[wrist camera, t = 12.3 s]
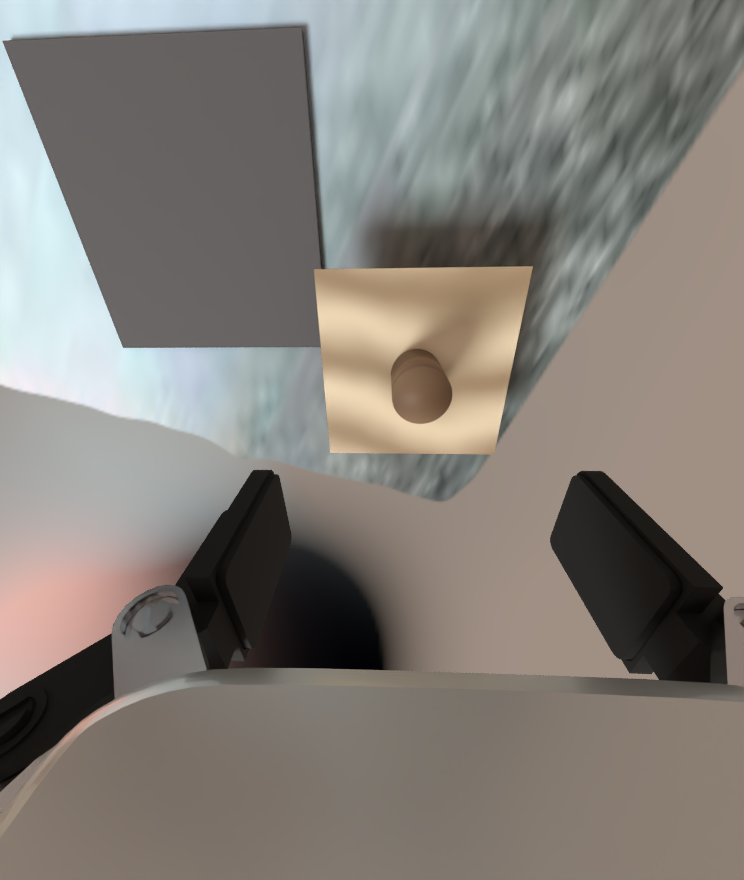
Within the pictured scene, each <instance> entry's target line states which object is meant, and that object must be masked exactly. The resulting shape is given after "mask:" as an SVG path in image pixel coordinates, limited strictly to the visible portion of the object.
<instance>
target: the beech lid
mask: <svg viewBox="0 0 744 880" xmlns="http://www.w3.org/2000/svg"><path fill="white" fill-rule="evenodd" d="M532 269H533V266H511V267H439V268H367V269H314V276H315V288H316V299H317V310H318V321H319V332H320V343H321V354H322V365H323V376H324V387H325V398H326V409H327V420H328V431H329V442H330V453H416V454H494V451H495V446H496V442H497V437H498V432H499V427H500V422H501V418H502V413H503V408H504V403H505V398H506V394H507V389H508V384H509V379H510V374H511V370H512V365H513V360H514V355H515V350H516V346H517V341H518V336H519V331H520V326H521V322H522V317H523V312H524V307H525V302H526V298H527V293H528V288H529V283H530V278H531V274H532Z"/></svg>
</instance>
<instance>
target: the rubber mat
mask: <svg viewBox="0 0 744 880" xmlns="http://www.w3.org/2000/svg"><path fill="white" fill-rule="evenodd" d="M3 44H4V46H5V49H6V51H7V54H8V56H9V59H10V61H11V64H12V66H13V69H14V72H15V74H16V77H17V79H18V82H19V84H20V87H21V89H22V92H23V94H24V97H25V99H26V102H27V105H28V107H29V110H30V112H31V115H32V117H33V120H34V122H35V125H36V127H37V130H38V133H39V135H40V138H41V140H42V143H43V145H44V148H45V150H46V153H47V155H48V158H49V160H50V163H51V166H52V168H53V171H54V173H55V176H56V178H57V181H58V183H59V186H60V188H61V191H62V194H63V196H64V199H65V201H66V204H67V206H68V209H69V211H70V214H71V216H72V219H73V222H74V224H75V227H76V229H77V232H78V234H79V237H80V239H81V242H82V244H83V247H84V249H85V252H86V255H87V257H88V260H89V262H90V265H91V267H92V270H93V272H94V275H95V277H96V280H97V283H98V285H99V288H100V290H101V293H102V295H103V298H104V300H105V303H106V305H107V308H108V310H109V313H110V316H111V318H112V321H113V323H114V326H115V328H116V331H117V333H118V336H119V338H120V341H121V344H122V346H123V348H175V347H321V343H320V332H319V321H318V310H317V299H316V288H315V276H314V269H322V264H321V252H320V239H319V226H318V214H317V201H316V189H315V176H314V163H313V151H312V138H311V126H310V113H309V100H308V88H307V75H306V63H305V50H304V37H303V31H302V28H301V27H294V28H272V29H250V30H228V31H206V32H184V33H162V34H140V35H118V36H96V37H74V38H53V39H31V40H9V41H3Z"/></svg>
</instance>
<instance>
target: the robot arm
mask: <svg viewBox="0 0 744 880" xmlns="http://www.w3.org/2000/svg"><path fill="white" fill-rule="evenodd" d="M550 543H551V546H552V549H553V551H554V552H555V554H556V556H557V557H558V559H559V561H560V563H561V564H562V566H563V568H564V570H565V571H566V573H567V575H568V577H569V578H570V580H571V582H572V583H573V585H574V587H575V589H576V590H577V592H578V594H579V596H580V597H581V599H582V601H583V602H584V604H585V606H586V608H587V609H588V611H589V613H590V614H591V616H592V618H593V620H594V621H595V623H596V625H597V627H598V628H599V630H600V632H601V634H602V635H603V637H604V639H605V640H606V642H607V644H608V646H609V647H610V649H611V651H612V652H613V654H614V655H615V656H616V657H617V658H619V659H621V660H622V661H623V663H624V665H625V666H626V668H627V670H628V671H629V673H638V674H652V673H653V672H654V673H655V674H656V676H657V677H658V679H659V680H647V679H623V678H595V677H570V676H544V675H543V676H542V675H515V674H483V673H452V672H421V671H387V670H385V671H384V670H383V671H382V670H348V669H312V668H309V669H308V668H234V669H228V666H229V663H230V661H245V659H246V656H247V654H248V651H249V648H254V647H255V645H256V644H257V641H258V638H259V635H260V632H261V630H262V627H263V623H264V621H265V618H266V614H267V612H268V609H269V606H270V603H271V600H272V597H273V594H274V591H275V588H276V585H277V582H278V579H279V576H280V573H281V570H282V568H283V565H284V561H285V559H286V556H287V553H288V550H289V547H290V544H291V530H290V526H289V521H288V517H287V511H286V507H285V502H284V497H283V492H282V487H281V483H280V478H279V476H278V475H275V474H274V472H273V471H272V470H253V471H252V473H251V474H250V476H249V477H248V479H247V481H246V482H245V484H244V485H243V487H242V488H241V490H240V491H239V493H238V495H237V496H236V498H235V499H234V501H233V502H232V504H231V505H230V507H229V509H228V510H226V511H225V512H223V513H222V514H221V516H220V517H219V519H218V520H217V522H216V523H215V525H214V526H213V528H212V530H211V531H210V533H209V534H208V536H207V537H206V539H205V541H204V542H203V543H202V545H201V546H200V548H199V550H198V551H197V552H196V554H195V556H194V557H193V559H192V560H191V562H190V563H189V565H188V566H187V568H186V569H185V571H184V573H183V574H182V575H181V577H180V579H179V580H178V582H177V583H176V585H175V586H174V585H164V586H158V587H155V588H153V589H150V590H147V591H145V592H144V593H142V594H140V595H139V596H137V597H136V598H134V599H133V600H132V601H131V602H130V603H129V604H127V605H126V606H125V608H124V609H123V610H122V611H121V612H120V613H119V615H118V616H117V619H116V620H115V622H114V624H113V628H112V634H110V635H108V636H106V637H105V638H103V639H101V640H99V641H98V642H96V643H94V644H93V645H91V646H89V647H87V648H86V649H84V650H82V651H81V652H79V653H77V654H75V655H74V656H72V657H70V658H69V659H67V660H65V661H63V662H62V663H60V664H58V665H57V666H55V667H53V668H51V669H50V670H48V671H46V672H45V673H43V674H41V675H39V676H38V677H36V678H34V679H33V680H31V681H29V682H27V683H26V684H24V685H23V686H20V687H19V688H17V689H15V690H14V691H12V692H10V693H9V694H7V695H6V696H5V697H3V698H2V699H0V880H744V597H731V598H729V599H727V600H726V601H725V600H724V599H723V598H722V597H721V596H720V595H719V594H718V593H719V592H720V591H721V590H722V589H723V587H722V586H721V585H720V584H719V583H718V582H717V581H716V580H715V579H714V578H713V577H712V576H711V575H710V574H709V573H708V572H707V571H706V570H704V568H702V567H701V566H700V565H699V564H698V563H697V562H696V561H695V560H694V559H693V558H692V557H691V556H690V555H689V554H688V553H687V552H686V551H685V550H684V549H683V548H682V547H681V546H680V545H679V544H678V543H677V542H676V541H675V540H674V539H673V538H671V537H670V536H669V535H668V534H667V533H666V532H665V531H664V530H663V529H662V528H661V527H660V526H659V525H658V524H657V523H656V522H655V521H654V520H653V519H652V518H651V517H650V516H649V515H648V514H647V513H645V511H644V510H642V509H641V508H640V507H639V506H638V505H637V504H636V503H635V502H634V501H633V500H632V499H631V498H630V497H629V496H628V495H627V494H626V493H625V492H624V491H623V490H622V489H621V488H620V487H619V486H618V485H616V483H614V482H613V480H611V479H610V478H609V477H608V476H607V475H606V474H605V473H603V472H601V471H581V472H579V473H578V474H577V476H573V477H572V479H571V481H570V484H569V487H568V490H567V492H566V495H565V498H564V501H563V504H562V506H561V509H560V512H559V515H558V517H557V520H556V523H555V526H554V529H553V531H552V534H551V537H550Z"/></svg>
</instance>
